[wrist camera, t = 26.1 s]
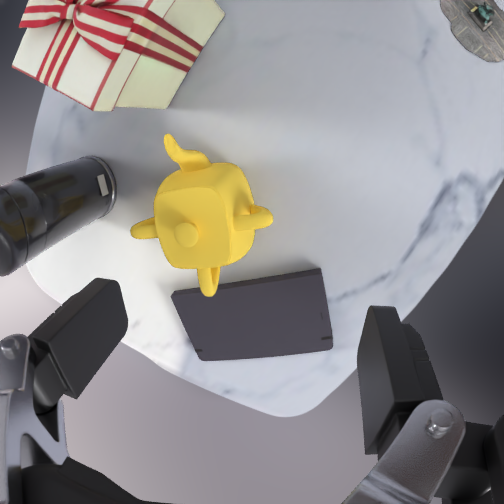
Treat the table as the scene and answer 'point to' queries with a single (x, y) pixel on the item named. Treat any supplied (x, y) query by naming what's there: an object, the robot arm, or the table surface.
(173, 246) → the teapot
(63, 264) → the table surface
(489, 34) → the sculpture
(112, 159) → the table surface
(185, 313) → the notebook
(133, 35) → the gift box
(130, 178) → the table surface
